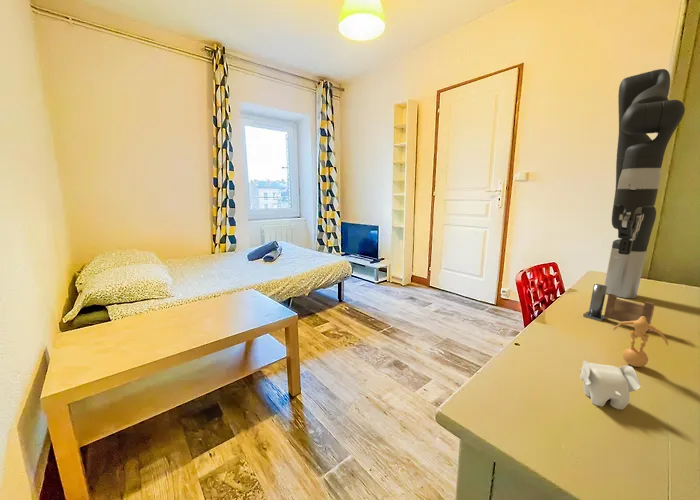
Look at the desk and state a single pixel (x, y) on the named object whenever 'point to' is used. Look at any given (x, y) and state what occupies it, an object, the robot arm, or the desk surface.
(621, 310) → the gate
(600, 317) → the gate posts
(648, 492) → the desk surface
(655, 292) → the desk surface
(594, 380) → the elephant figurine
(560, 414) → the desk surface
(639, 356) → the figurine
